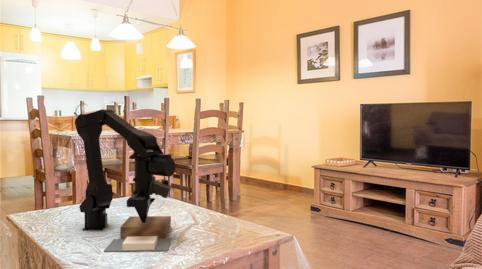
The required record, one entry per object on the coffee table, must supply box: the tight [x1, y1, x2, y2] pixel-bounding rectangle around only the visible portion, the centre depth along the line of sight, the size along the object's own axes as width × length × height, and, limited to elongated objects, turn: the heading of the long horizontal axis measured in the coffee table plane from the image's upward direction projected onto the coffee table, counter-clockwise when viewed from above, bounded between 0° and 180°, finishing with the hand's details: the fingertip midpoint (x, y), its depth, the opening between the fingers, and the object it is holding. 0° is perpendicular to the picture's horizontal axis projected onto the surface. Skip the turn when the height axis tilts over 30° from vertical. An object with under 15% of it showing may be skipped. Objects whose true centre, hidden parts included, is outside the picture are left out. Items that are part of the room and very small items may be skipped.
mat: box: [103, 237, 173, 253], centre depth 108 cm, size 18×10×1 cm, turn 93°
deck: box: [119, 215, 172, 239], centre depth 119 cm, size 14×12×4 cm
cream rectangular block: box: [122, 236, 157, 251], centre depth 107 cm, size 9×6×2 cm, turn 95°
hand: (143, 222), depth 115 cm, fingers closed
